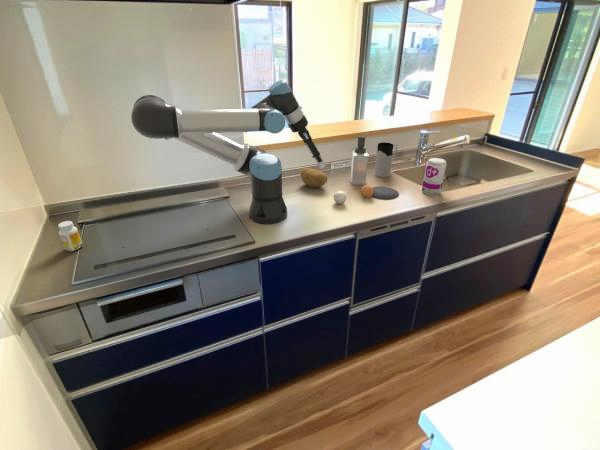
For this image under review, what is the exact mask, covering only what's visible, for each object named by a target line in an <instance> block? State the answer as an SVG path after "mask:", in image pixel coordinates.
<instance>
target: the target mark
mask: <svg viewBox="0 0 600 450" xmlns="http://www.w3.org/2000/svg"><path fill="white" fill-rule="evenodd" d="M372 188H373V190H374V192H373V195H372V196H371V197H370V198H374V199H377V200H385V201H387V200H388V201H389V200H394V199H397V198H398V197H399V196H400V193H399V191H398V190H397V189H395V188H392V187H388V186H381V185H380V186H379V185H378V186H372Z"/></svg>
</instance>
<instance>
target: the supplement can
mask: <svg viewBox="0 0 600 450" xmlns="http://www.w3.org/2000/svg"><path fill="white" fill-rule="evenodd" d="M446 169H447V161H446V159H444V158H442V157H430V158H428V160H427V161H426V165H425V169H424V170H425V171H424V174H423V181H422V185H421V191H422V192H423V193H424V194H426V195H429V196H437V195H440V193H442V192H441V191H442V188H443V182H444V178H445V174H446Z"/></svg>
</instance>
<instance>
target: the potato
mask: <svg viewBox="0 0 600 450" xmlns="http://www.w3.org/2000/svg"><path fill="white" fill-rule="evenodd" d="M300 178H301V180H302V182H303V184H305V185H306V186H308V187H310V188H320V187H323V186H325V185H326V184H327V182H328V176H327V175H326V173H324V172H322V171H320V170H318V169H314V168H311V167H305V168H303V169H302V170H301V171H300Z"/></svg>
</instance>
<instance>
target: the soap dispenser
mask: <svg viewBox="0 0 600 450" xmlns="http://www.w3.org/2000/svg"><path fill="white" fill-rule="evenodd" d="M365 141H366V136H365V135H357V147H355V149H354V150H352V151H351V152H352V155H351V165H350V166H351V168H350V183H351V185H360V186H361V185H363V186H365V185H366V182H367V171H368V170H367V169H368V164H369V163H368V160H369V154H368V151H367V148H365V144H366V142H365Z"/></svg>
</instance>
